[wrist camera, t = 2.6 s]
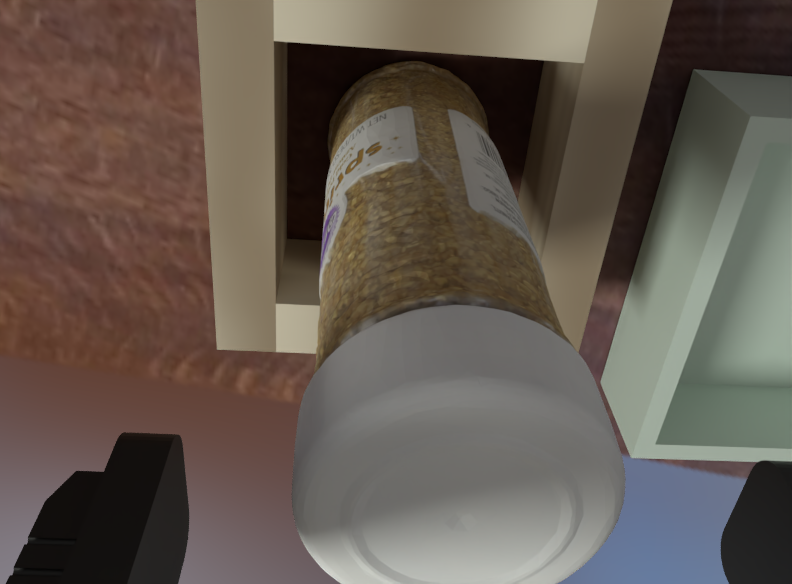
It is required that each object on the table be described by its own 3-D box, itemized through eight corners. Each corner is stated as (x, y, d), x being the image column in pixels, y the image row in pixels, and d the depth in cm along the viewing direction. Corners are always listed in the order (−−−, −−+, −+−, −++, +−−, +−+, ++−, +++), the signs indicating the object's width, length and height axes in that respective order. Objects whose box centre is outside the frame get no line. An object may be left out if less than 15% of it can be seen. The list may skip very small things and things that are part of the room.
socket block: (235, 281, 23) (217, 349, 21) (220, -71, 18) (192, -46, 15) (549, 295, 24) (575, 364, 21) (626, -38, 19) (674, -8, 16)
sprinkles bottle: (318, 64, 20) (261, 407, 9) (490, 51, 20) (656, 378, 9) (336, 217, 22) (311, 637, 11) (490, 206, 22) (617, 615, 11)
